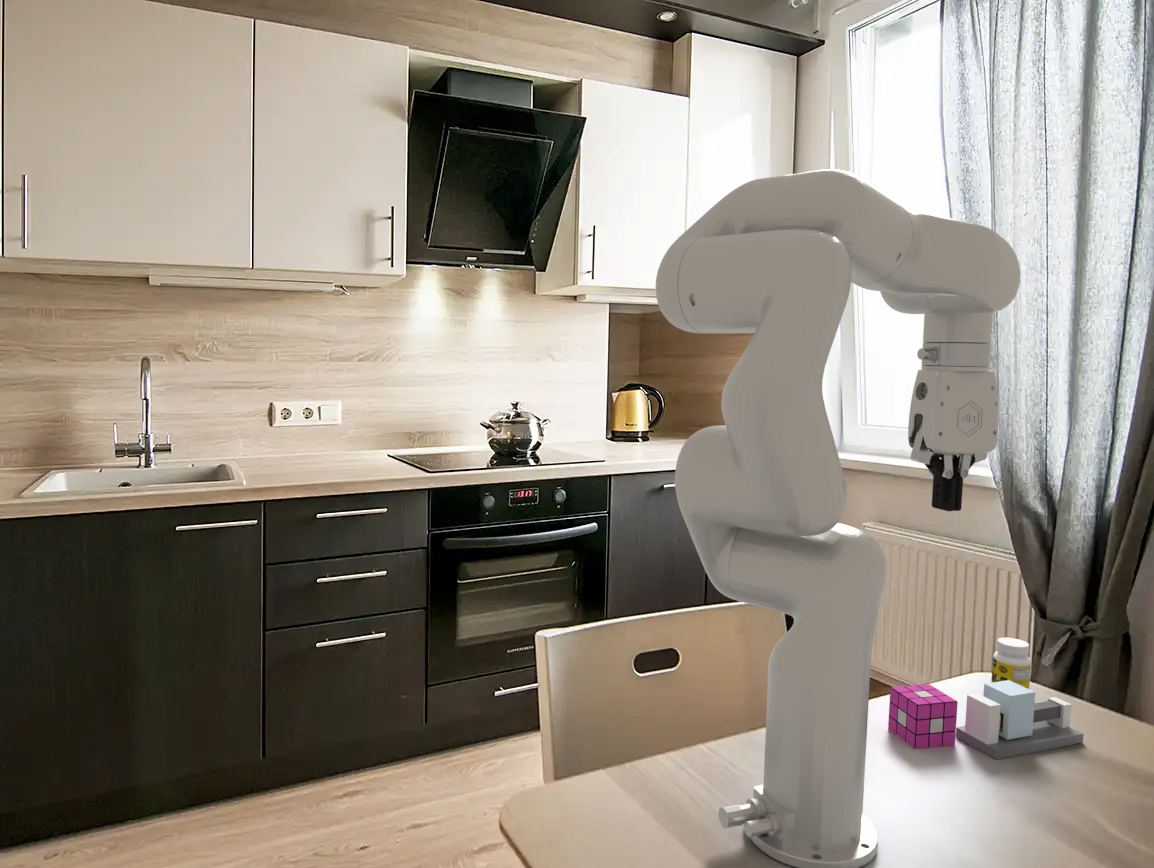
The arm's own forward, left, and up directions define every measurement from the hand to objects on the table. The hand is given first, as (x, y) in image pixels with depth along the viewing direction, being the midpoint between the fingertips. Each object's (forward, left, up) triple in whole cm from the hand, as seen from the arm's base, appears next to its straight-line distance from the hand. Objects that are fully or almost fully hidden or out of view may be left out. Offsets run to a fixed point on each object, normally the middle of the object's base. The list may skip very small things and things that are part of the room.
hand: (946, 508), depth 105 cm
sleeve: (+8, -4, -28) cm, 29 cm away
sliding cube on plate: (+10, -4, -29) cm, 31 cm away
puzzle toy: (-1, +1, -29) cm, 29 cm away
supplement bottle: (+19, +6, -29) cm, 35 cm away
